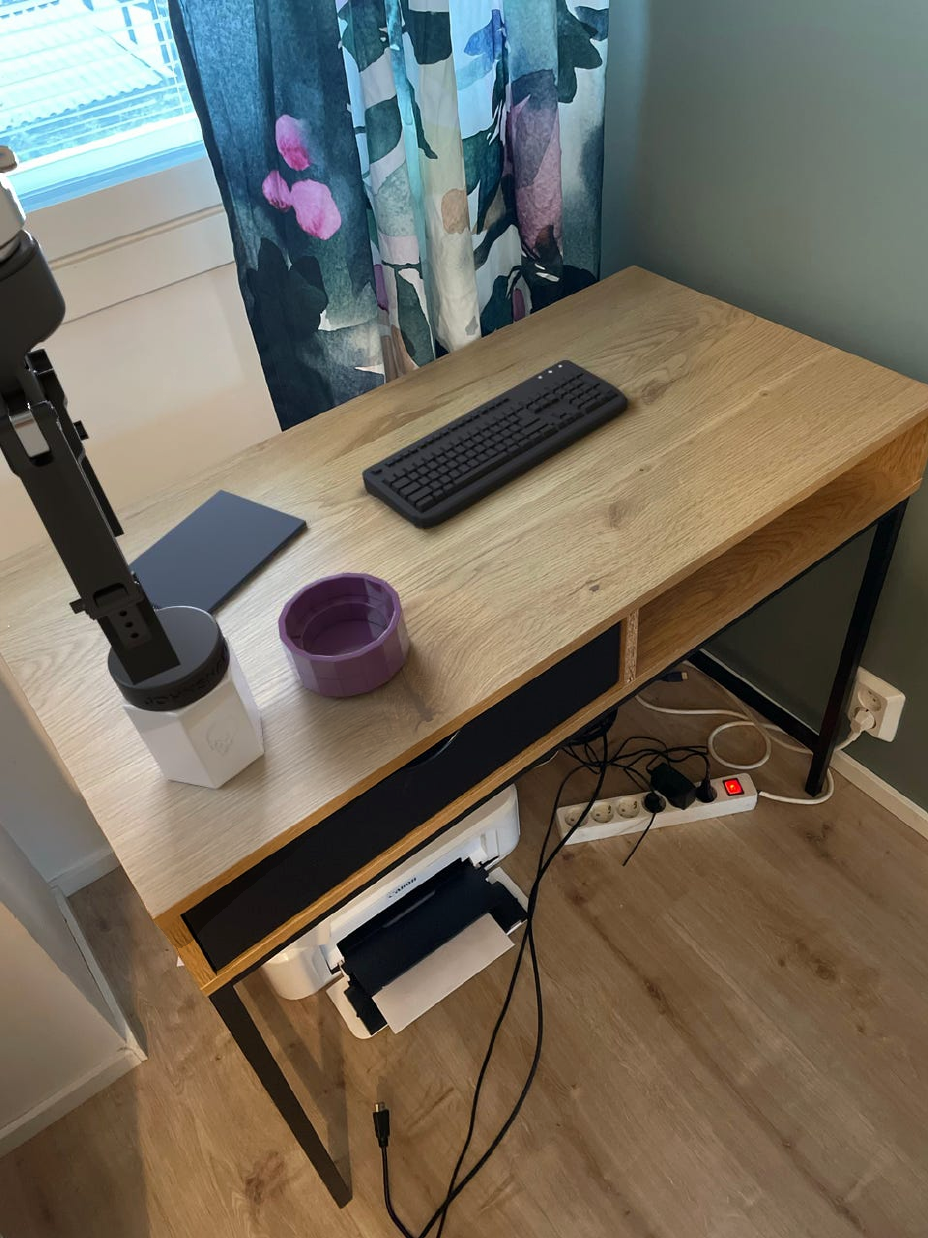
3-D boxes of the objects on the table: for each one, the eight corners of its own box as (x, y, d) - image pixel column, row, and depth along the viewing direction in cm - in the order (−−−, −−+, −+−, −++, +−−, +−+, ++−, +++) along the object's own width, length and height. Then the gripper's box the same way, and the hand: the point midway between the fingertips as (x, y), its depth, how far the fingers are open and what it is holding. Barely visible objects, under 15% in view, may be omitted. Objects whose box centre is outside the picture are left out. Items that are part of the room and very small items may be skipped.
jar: (194, 810, 68) (137, 713, 59) (141, 752, 72) (80, 653, 64) (288, 739, 72) (247, 637, 63) (232, 687, 76) (187, 585, 68)
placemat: (196, 627, 82) (194, 623, 81) (109, 586, 87) (106, 582, 87) (307, 525, 91) (306, 520, 90) (222, 493, 96) (220, 489, 95)
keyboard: (425, 533, 88) (422, 517, 86) (362, 486, 94) (358, 471, 93) (634, 405, 99) (635, 389, 98) (565, 371, 106) (565, 356, 104)
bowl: (362, 718, 72) (350, 678, 69) (268, 674, 77) (253, 634, 73) (432, 636, 78) (424, 595, 74) (341, 599, 82) (330, 558, 79)
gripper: (89, 337, 32) (252, 708, 47) (-7, 154, 48) (137, 475, 63) (-133, 410, 30) (112, 773, 45) (-155, 194, 46) (31, 515, 61)
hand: (127, 599), depth 54 cm, fingers open, 13 cm apart
